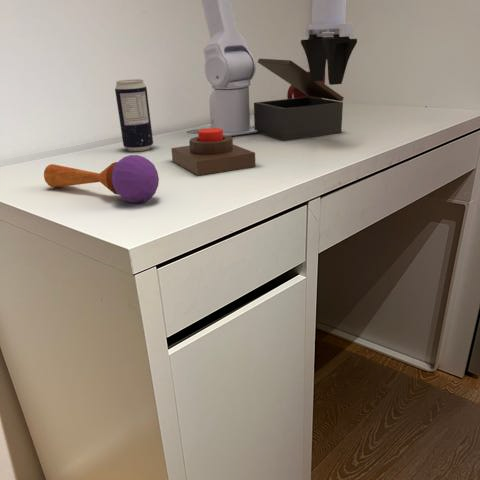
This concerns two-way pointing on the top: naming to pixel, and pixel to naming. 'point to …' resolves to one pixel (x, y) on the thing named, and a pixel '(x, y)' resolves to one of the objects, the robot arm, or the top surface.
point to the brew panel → (212, 156)
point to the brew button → (210, 134)
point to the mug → (298, 93)
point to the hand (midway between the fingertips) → (326, 82)
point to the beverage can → (134, 114)
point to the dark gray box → (298, 117)
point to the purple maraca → (112, 177)
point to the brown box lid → (300, 79)
